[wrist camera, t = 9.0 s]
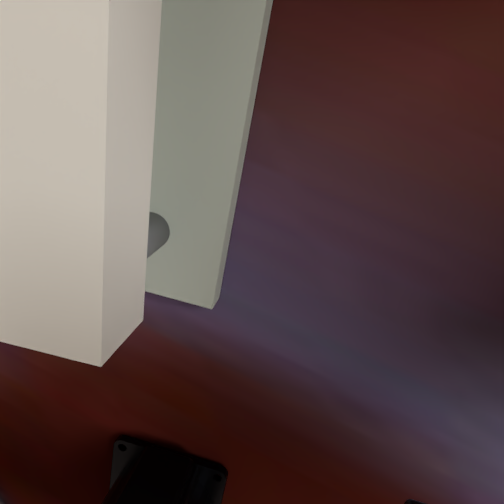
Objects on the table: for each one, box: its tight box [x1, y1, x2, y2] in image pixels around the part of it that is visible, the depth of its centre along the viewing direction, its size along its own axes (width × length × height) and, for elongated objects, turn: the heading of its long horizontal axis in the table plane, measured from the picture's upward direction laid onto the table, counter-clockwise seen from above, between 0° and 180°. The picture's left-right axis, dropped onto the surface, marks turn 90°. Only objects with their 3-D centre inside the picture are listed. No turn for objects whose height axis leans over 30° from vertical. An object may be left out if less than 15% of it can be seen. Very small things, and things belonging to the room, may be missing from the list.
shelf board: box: [0, 0, 162, 367], centre depth 13 cm, size 16×6×3 cm, turn 172°
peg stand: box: [145, 0, 273, 309], centre depth 16 cm, size 18×10×5 cm, turn 169°
